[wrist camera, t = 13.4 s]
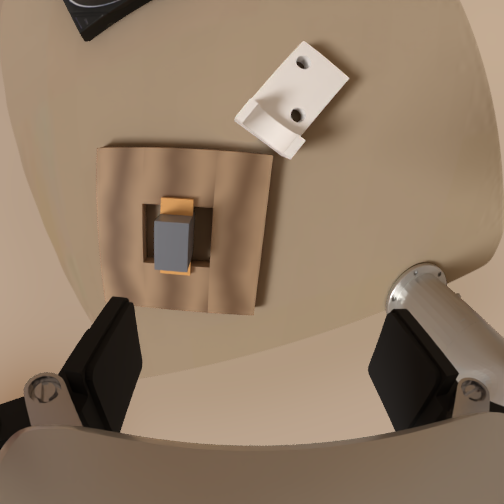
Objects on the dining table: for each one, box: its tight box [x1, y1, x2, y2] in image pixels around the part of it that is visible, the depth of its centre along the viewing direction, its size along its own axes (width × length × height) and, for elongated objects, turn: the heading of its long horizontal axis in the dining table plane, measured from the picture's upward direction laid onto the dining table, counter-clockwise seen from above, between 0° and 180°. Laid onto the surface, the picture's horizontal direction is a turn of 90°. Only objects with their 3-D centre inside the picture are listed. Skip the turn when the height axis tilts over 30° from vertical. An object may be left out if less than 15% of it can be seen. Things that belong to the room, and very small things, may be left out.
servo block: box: [154, 197, 195, 276], centre depth 37 cm, size 4×10×6 cm, turn 174°
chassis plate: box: [96, 147, 273, 315], centre depth 38 cm, size 22×22×2 cm
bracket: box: [234, 41, 349, 159], centre depth 31 cm, size 13×7×8 cm, turn 142°
